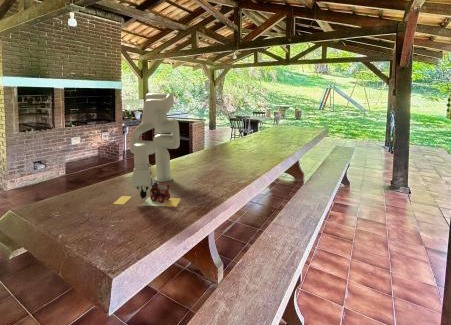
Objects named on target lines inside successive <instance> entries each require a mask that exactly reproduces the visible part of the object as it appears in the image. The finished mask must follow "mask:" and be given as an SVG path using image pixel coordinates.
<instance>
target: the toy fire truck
mask: <svg viewBox="0 0 451 325" xmlns="http://www.w3.org/2000/svg"><path fill="white" fill-rule="evenodd" d="M152 185H153V187H152V188H150V190H149V191H150V192H149V194H150V196H149V197H150V198H151V200H152V201H156V200H157V198H158V202H160V203H163V202H164V201H165V199H166V200H168V199H170V198H171V194H170V191H169V190H170V184H167V183H160V182H158V181H154V182H153V184H152Z"/></svg>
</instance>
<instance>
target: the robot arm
mask: <svg viewBox="0 0 451 325" xmlns="http://www.w3.org/2000/svg"><path fill="white" fill-rule="evenodd" d="M174 99H175V98H174V95H173V94H172V93H162V92H160V93H159V92H150V93H146V95H145V101H144V102H143V108H142V116H141V123H140V124H139V125H137V126H136V127H135V129H134V130H133V131H132V133H131V135H130V140H129V141H130V142H129V150H130V152H131V153H132V154H133V161H134V162H133V163H134V168H133V172H132V185H133V186H132V188H134V189H137V190H138V192H139V194H140V197H141V200H143V199H144V200H145V199H146V198H147V195H148V194H147V190H149V189H150V190H151V188H152V187H153V185H154V182H157V183H160V182H164V183H165V182H170V181H172V180H173V179H174V178H173V176H172V175H171V160H170V159H171V158H170V157H171V155H170V153H169V150H168V149H171V150H172V149H178V148H180V144H181V142H180V141H181V138H180V126H179V125H180V124H179V122H178V121H179V120H177V119H176V118H168V116H167V115H168V113H169V112H170V111H171V110H172V107H173V106H174V102H175V100H174ZM153 129H154V130H155V132H156V133H158V134H156V135H154V137H153V139H152V140H139V137H140V136H141V135H142V134H144V133H146V132H147V131H148V132H149V131H150V130H153ZM167 133H168V134H167ZM153 154H154V155H155V177H153V172H152V168H151V167H153V166H152V164H150V161H149V155H153ZM153 179H154V180H153Z"/></svg>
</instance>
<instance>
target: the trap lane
mask: <svg viewBox="0 0 451 325" xmlns="http://www.w3.org/2000/svg"><path fill="white" fill-rule="evenodd" d="M132 197H133V196H130V195H129V196H128V195H121V196H120V197H119V198H118V199H117V200H115V201H114V202H112V205H125V204H126V203H128V201H129V200H131V198H132ZM150 197H151V196H149V197H147V198H146V199H145V201H144V202H142V204H141V206H146V207H148V206H149V207H169V208H170V207H171V208H174V207H175V208H177V207H178V205H179V203H180V201H181V200H182V198H179V197H178V198H177V197H170V199H168V200H166V199H165V201H164V202H163V203H160V202H158V198H157V200H156V201H152V200H151V198H150Z"/></svg>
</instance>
